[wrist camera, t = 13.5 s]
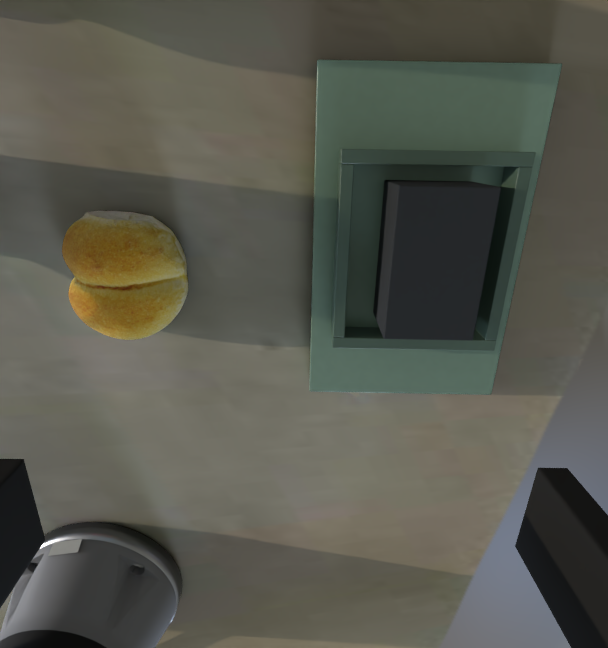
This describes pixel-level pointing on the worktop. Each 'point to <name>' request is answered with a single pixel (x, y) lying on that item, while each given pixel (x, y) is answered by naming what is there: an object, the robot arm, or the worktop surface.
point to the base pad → (427, 165)
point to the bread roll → (125, 273)
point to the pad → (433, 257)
